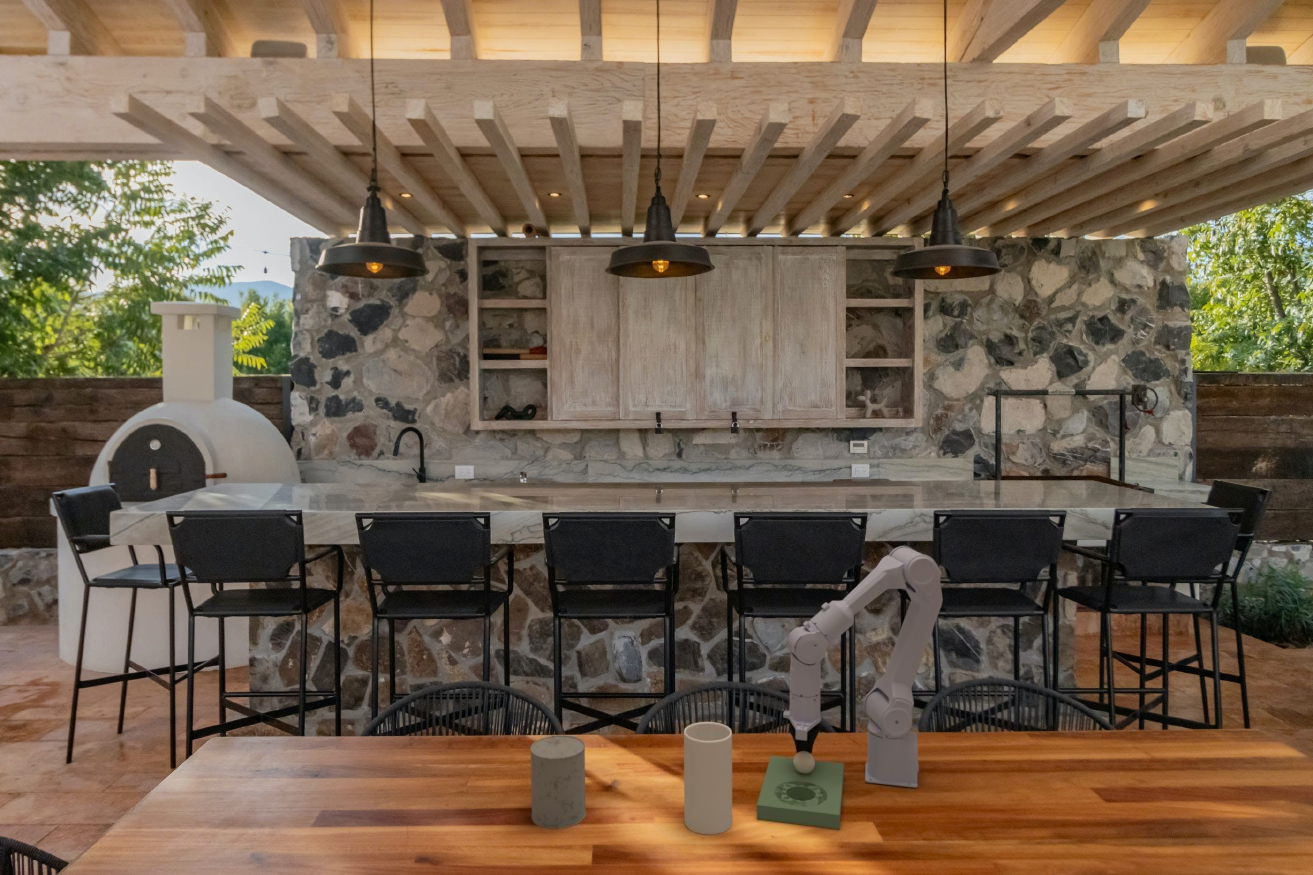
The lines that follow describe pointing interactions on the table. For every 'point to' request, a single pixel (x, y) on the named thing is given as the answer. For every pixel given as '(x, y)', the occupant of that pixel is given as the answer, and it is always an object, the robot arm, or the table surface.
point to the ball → (804, 762)
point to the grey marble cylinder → (558, 781)
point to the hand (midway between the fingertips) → (804, 761)
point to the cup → (708, 777)
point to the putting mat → (802, 794)
